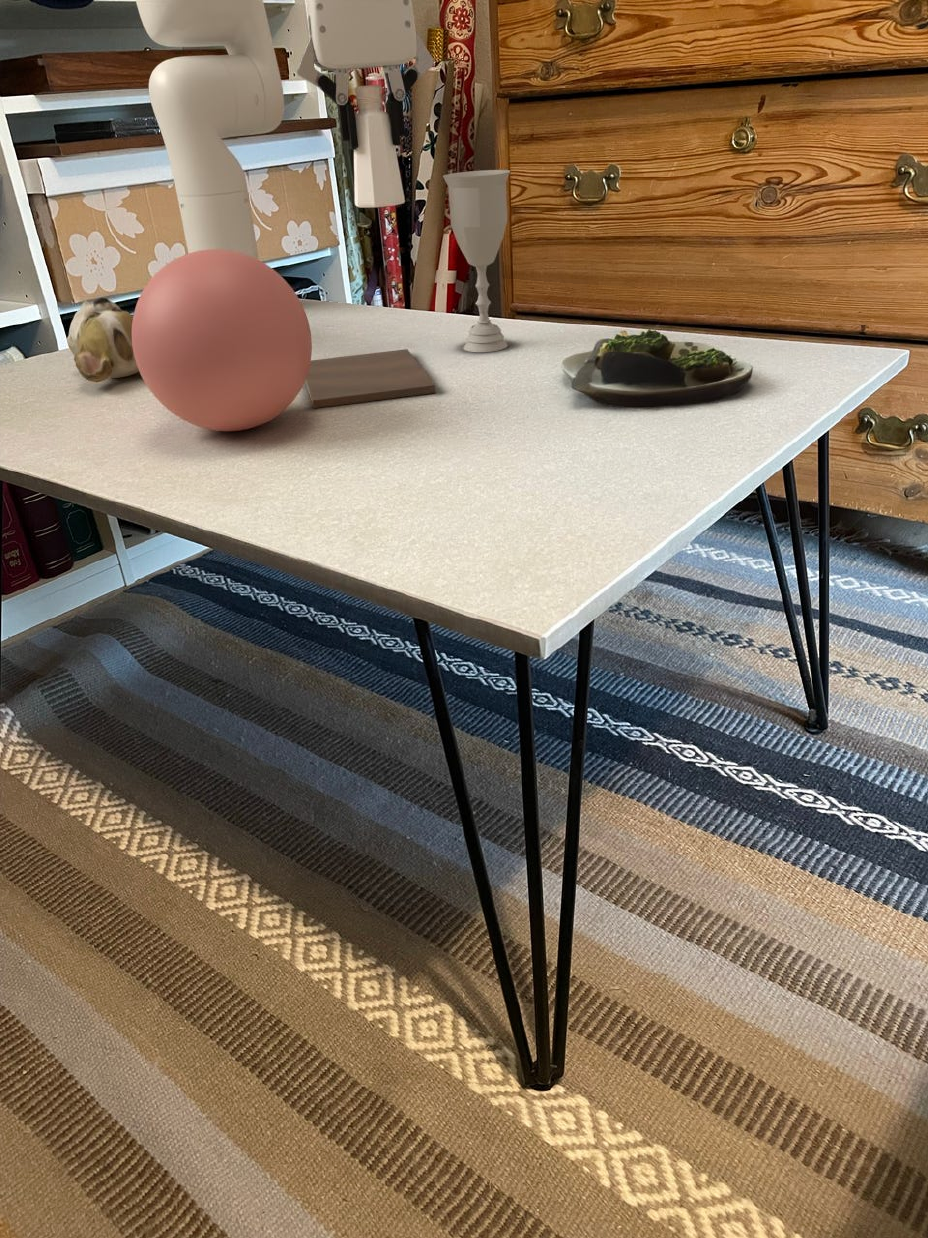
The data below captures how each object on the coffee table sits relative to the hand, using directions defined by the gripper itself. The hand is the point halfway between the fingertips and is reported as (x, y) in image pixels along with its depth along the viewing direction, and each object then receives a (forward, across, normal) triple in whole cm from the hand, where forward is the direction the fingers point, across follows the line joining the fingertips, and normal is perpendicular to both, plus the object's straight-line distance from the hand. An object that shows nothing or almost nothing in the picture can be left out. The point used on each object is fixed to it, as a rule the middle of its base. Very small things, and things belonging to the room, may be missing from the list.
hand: (373, 144), depth 98 cm
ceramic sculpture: (+22, +31, -6) cm, 38 cm away
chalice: (+22, -10, +2) cm, 24 cm away
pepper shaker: (+6, 0, 0) cm, 6 cm away
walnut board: (+21, +5, +10) cm, 24 cm away
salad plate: (+22, -21, +24) cm, 39 cm away
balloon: (+22, +19, +18) cm, 34 cm away
